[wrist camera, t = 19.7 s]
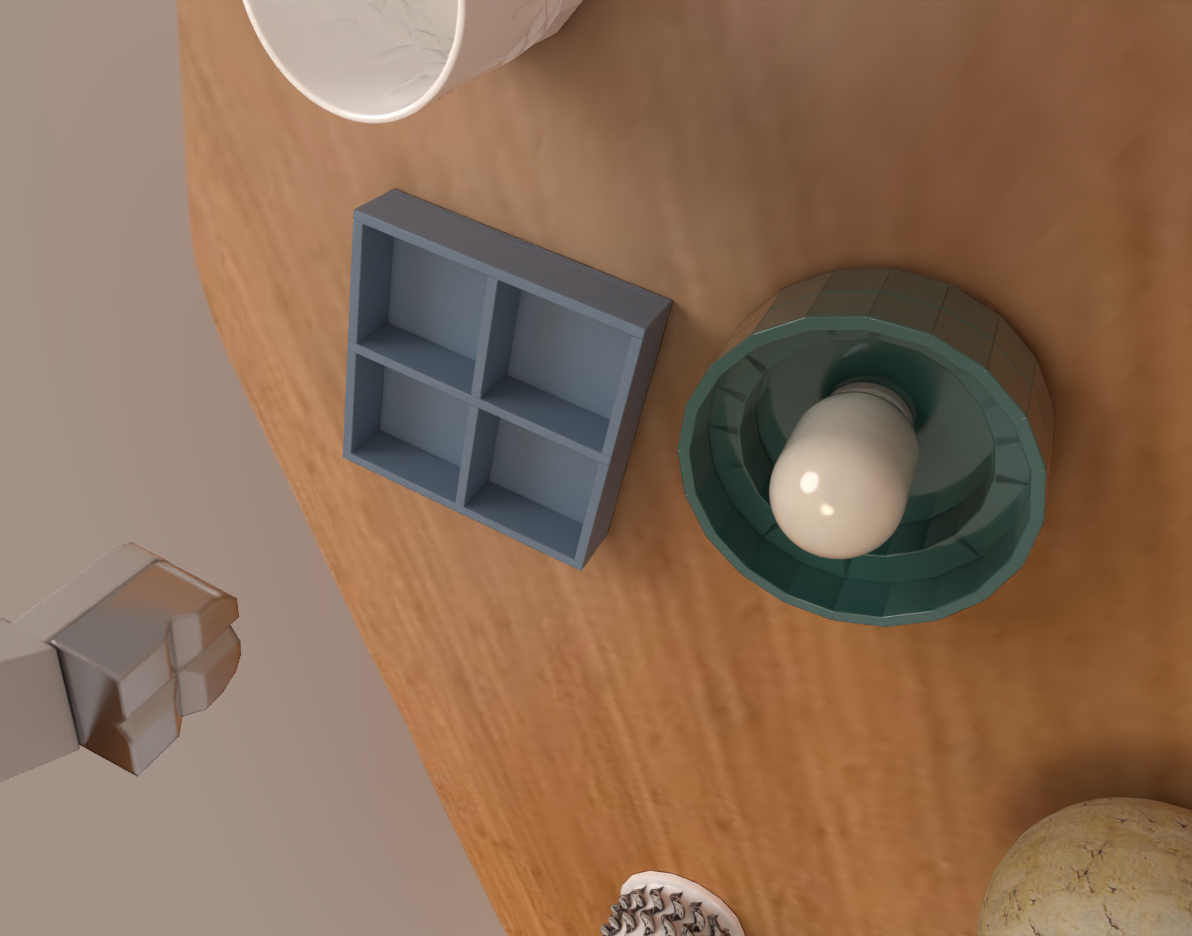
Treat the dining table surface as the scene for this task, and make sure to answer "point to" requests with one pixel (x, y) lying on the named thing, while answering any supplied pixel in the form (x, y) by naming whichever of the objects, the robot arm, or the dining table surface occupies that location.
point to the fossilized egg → (1096, 873)
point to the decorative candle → (669, 909)
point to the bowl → (940, 419)
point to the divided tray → (494, 373)
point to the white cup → (396, 47)
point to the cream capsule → (846, 472)
